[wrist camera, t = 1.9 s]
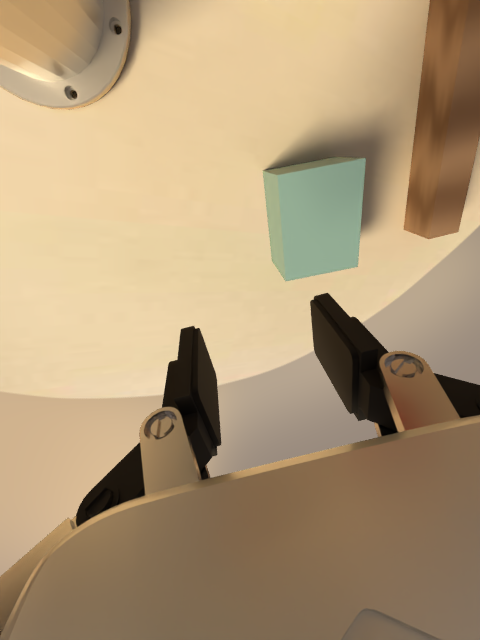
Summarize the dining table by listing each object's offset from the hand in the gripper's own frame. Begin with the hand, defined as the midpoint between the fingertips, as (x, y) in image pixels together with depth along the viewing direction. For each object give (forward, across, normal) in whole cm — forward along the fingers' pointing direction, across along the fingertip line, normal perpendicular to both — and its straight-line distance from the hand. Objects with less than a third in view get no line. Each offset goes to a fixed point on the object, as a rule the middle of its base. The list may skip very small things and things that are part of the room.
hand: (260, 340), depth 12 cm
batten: (+19, -21, -6) cm, 29 cm away
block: (+20, -8, 0) cm, 21 cm away
